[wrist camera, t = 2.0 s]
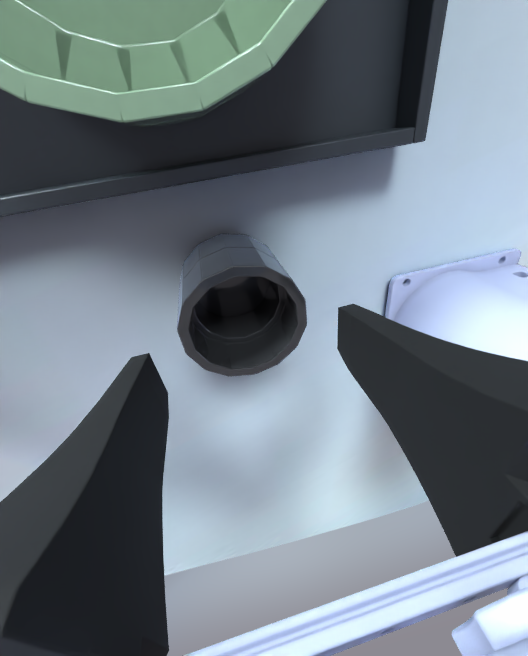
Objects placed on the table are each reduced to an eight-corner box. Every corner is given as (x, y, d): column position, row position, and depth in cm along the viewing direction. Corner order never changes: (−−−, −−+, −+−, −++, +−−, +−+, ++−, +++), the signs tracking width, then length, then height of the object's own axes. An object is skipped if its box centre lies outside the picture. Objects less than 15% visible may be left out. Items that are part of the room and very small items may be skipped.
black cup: (271, 220, 15) (303, 251, 11) (281, 311, 18) (309, 360, 14) (166, 241, 14) (158, 282, 10) (196, 331, 18) (199, 389, 13)
